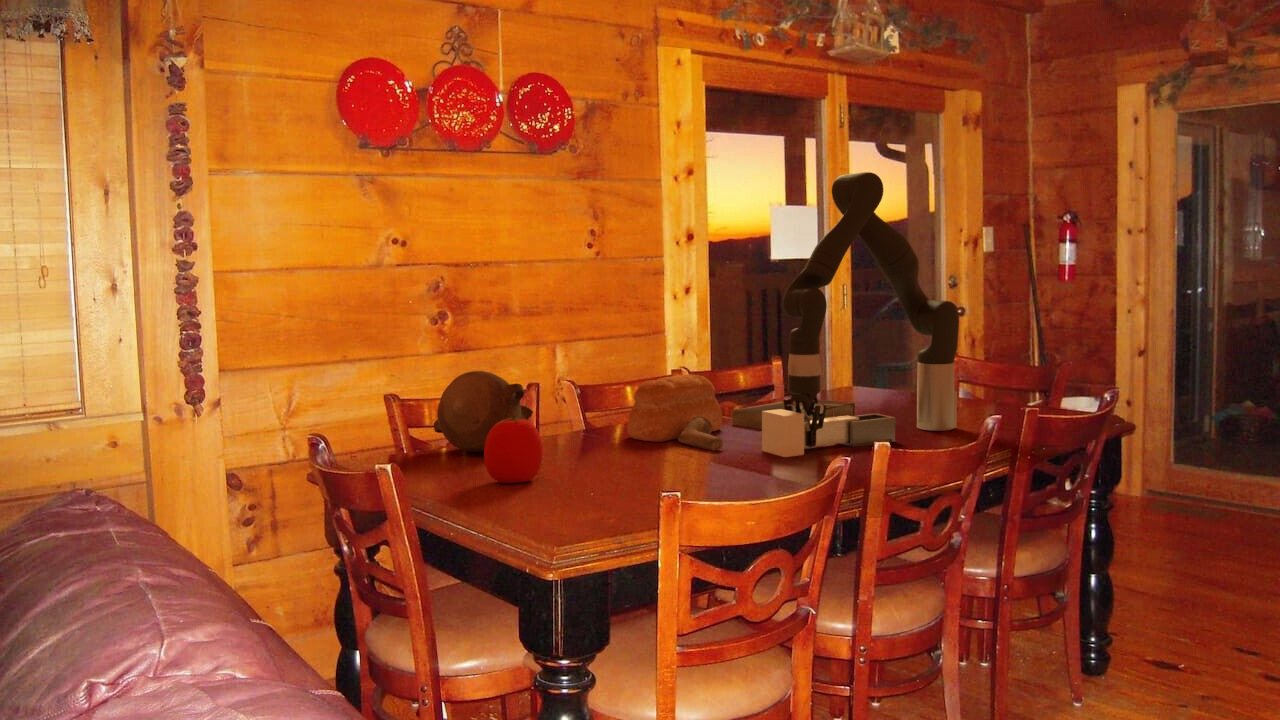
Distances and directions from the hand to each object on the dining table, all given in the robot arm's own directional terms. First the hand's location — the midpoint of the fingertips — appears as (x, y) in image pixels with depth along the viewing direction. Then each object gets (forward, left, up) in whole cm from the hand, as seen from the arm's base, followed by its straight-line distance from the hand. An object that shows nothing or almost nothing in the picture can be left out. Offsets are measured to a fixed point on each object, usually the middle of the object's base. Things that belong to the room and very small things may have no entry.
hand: (804, 444), depth 252 cm
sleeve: (-18, 0, -1) cm, 18 cm away
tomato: (+71, -5, -2) cm, 71 cm away
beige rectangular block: (-5, 0, -1) cm, 5 cm away
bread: (+15, -35, -2) cm, 38 cm away
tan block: (+6, 0, -1) cm, 6 cm away
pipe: (+16, -19, -2) cm, 25 cm away
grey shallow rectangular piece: (-22, -34, -2) cm, 40 cm away
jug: (+62, -44, -2) cm, 76 cm away
